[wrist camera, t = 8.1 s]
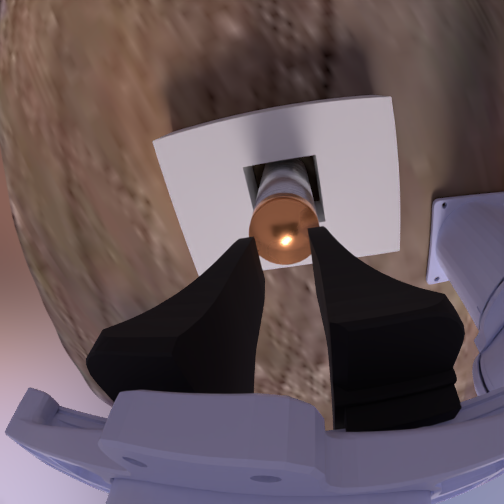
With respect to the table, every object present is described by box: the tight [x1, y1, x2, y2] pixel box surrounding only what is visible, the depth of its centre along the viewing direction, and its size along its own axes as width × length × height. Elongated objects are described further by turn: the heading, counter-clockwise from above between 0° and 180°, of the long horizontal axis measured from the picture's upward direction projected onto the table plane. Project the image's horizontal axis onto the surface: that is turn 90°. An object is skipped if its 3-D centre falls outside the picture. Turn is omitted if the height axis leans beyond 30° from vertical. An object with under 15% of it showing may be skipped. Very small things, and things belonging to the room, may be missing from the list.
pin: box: [249, 158, 320, 265], centre depth 16 cm, size 3×3×9 cm
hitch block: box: [153, 95, 400, 276], centre depth 19 cm, size 14×10×4 cm
